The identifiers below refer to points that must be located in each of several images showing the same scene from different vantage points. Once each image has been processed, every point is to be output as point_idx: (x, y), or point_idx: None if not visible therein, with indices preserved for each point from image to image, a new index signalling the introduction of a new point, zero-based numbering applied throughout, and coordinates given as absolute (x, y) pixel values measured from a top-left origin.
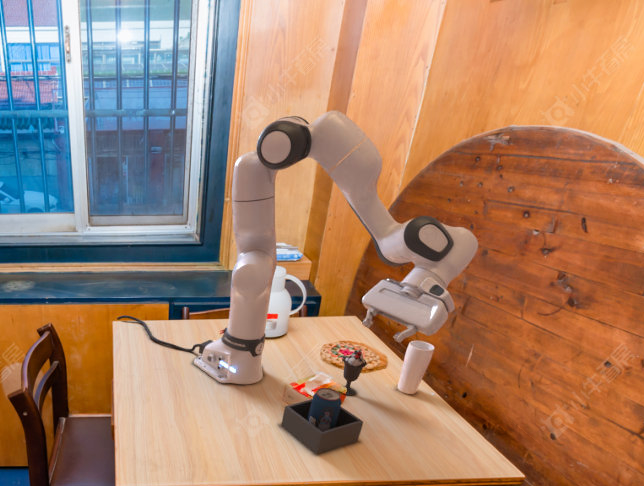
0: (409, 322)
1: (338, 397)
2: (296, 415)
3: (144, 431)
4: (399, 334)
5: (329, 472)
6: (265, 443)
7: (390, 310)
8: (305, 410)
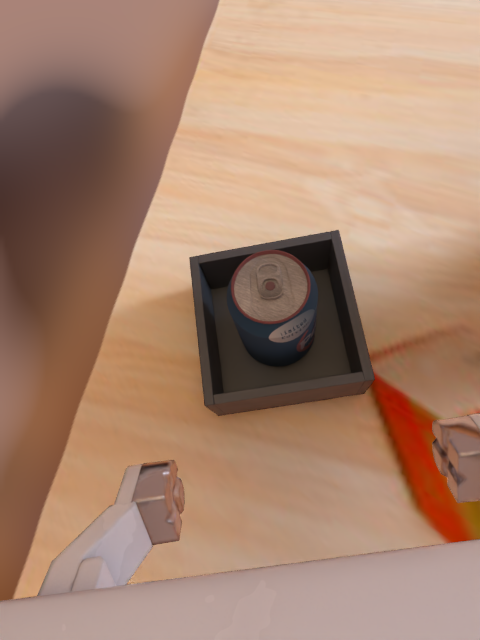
0: (87, 591)
1: (245, 308)
2: (287, 239)
3: (373, 2)
4: (135, 488)
5: (142, 278)
6: (273, 198)
7: (374, 578)
8: (343, 312)
